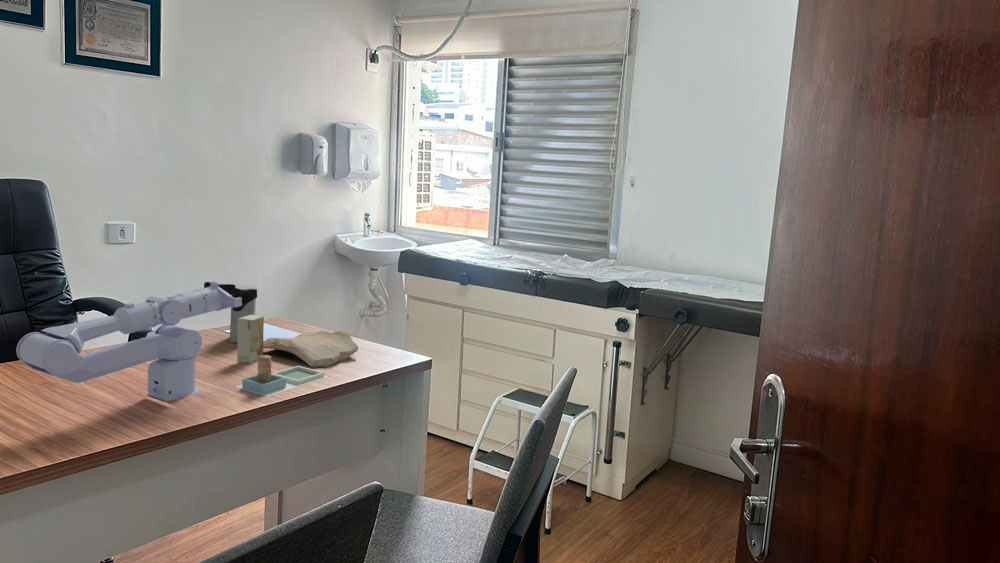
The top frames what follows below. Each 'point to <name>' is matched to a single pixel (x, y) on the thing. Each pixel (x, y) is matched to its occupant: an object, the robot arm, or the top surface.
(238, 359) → the skincare box
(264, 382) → the dowel
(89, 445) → the top surface
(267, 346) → the tan rock slab
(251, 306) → the skincare box
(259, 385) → the teal square tray
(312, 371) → the organizer
